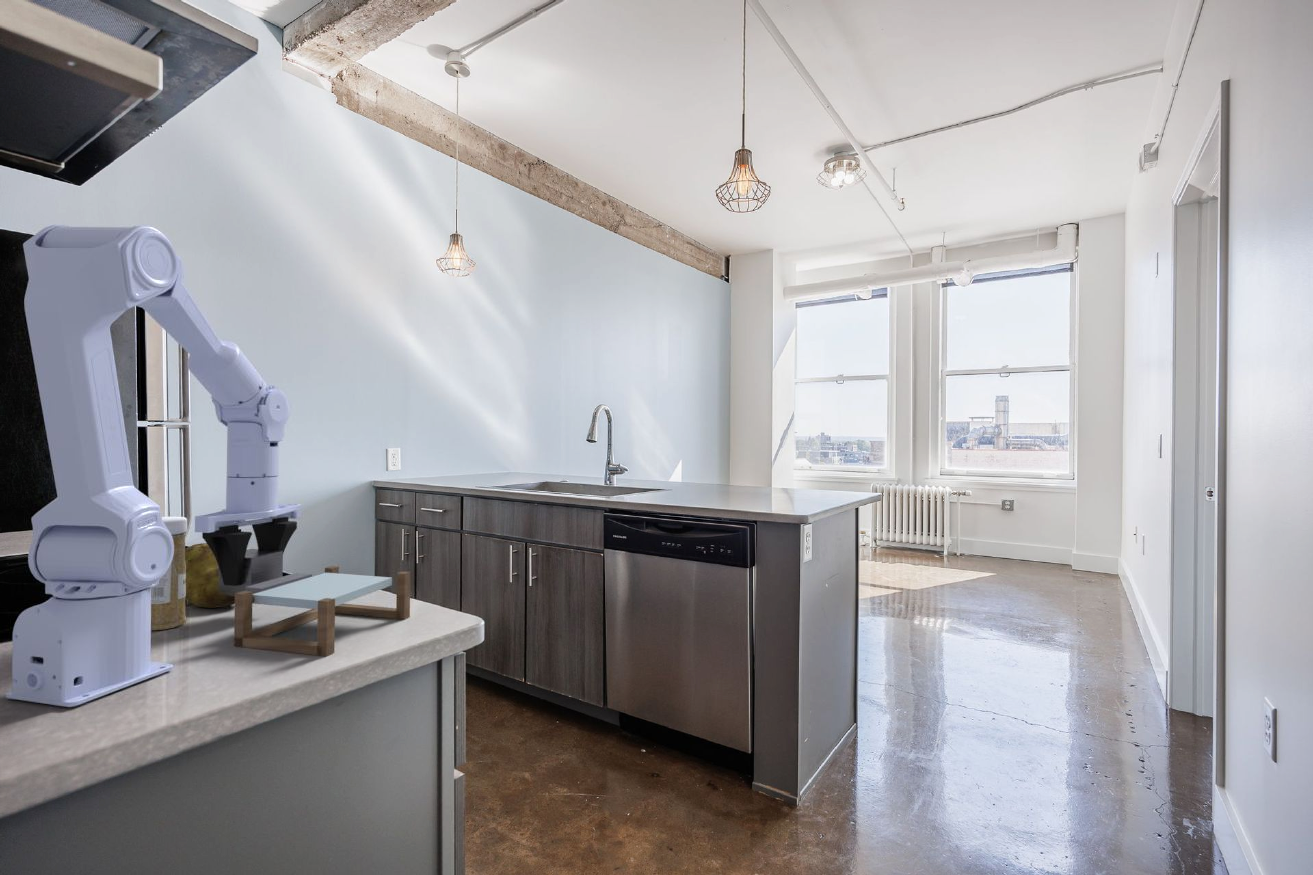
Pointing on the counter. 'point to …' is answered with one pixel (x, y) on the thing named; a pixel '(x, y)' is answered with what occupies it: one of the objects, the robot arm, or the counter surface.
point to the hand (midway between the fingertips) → (251, 579)
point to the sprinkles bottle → (171, 582)
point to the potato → (203, 578)
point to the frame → (323, 613)
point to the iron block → (255, 570)
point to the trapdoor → (315, 589)
